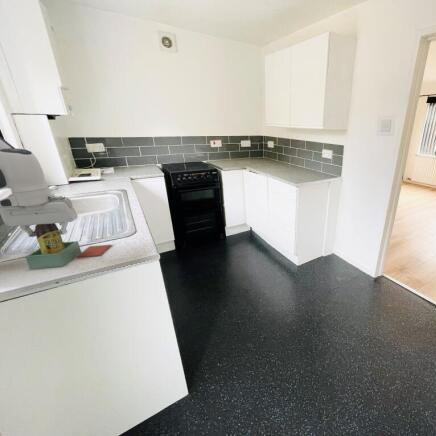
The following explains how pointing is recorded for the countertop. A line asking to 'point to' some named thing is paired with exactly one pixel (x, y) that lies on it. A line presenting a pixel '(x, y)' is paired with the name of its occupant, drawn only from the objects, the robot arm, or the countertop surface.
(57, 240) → the sauce bottle
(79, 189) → the countertop surface
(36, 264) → the green open tray
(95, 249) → the drying mat
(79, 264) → the countertop surface
